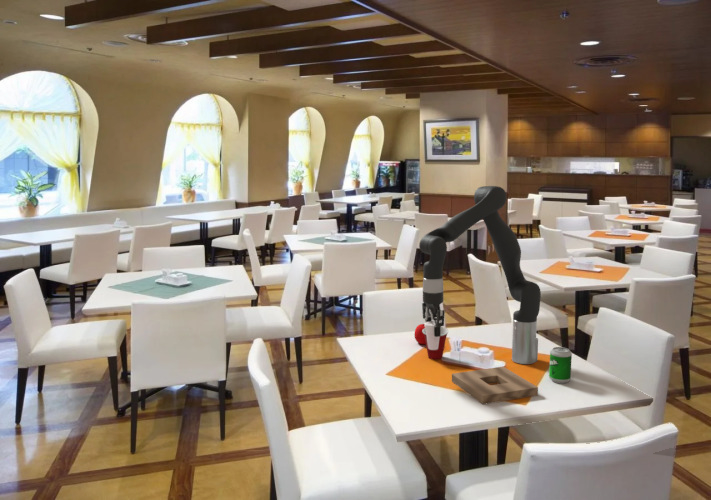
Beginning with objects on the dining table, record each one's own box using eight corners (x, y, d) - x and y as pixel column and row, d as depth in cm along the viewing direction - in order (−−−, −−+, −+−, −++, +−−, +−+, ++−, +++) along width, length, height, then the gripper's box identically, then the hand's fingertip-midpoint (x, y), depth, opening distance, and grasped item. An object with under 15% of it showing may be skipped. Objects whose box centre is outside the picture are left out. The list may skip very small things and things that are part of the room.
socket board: (503, 373, 229) (503, 366, 228) (537, 395, 208) (538, 387, 208) (451, 381, 222) (451, 373, 221) (482, 404, 201) (482, 395, 201)
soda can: (570, 378, 224) (571, 347, 222) (570, 385, 217) (572, 353, 215) (549, 375, 226) (550, 345, 224) (548, 382, 219) (550, 351, 217)
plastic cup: (418, 360, 245) (419, 332, 243) (425, 352, 255) (426, 325, 253) (444, 363, 241) (445, 334, 239) (450, 355, 251) (451, 327, 249)
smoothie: (441, 351, 218) (441, 314, 216) (423, 350, 219) (423, 314, 217) (442, 345, 224) (442, 309, 222) (425, 345, 225) (425, 309, 223)
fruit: (437, 345, 264) (437, 323, 262) (418, 347, 262) (418, 325, 260) (430, 339, 272) (430, 318, 271) (411, 341, 270) (411, 319, 269)
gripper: (451, 293, 213) (451, 338, 215) (433, 284, 226) (433, 327, 229) (432, 295, 210) (432, 340, 213) (415, 286, 224) (415, 329, 226)
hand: (433, 333), depth 221 cm, fingers closed on smoothie, 6 cm apart
